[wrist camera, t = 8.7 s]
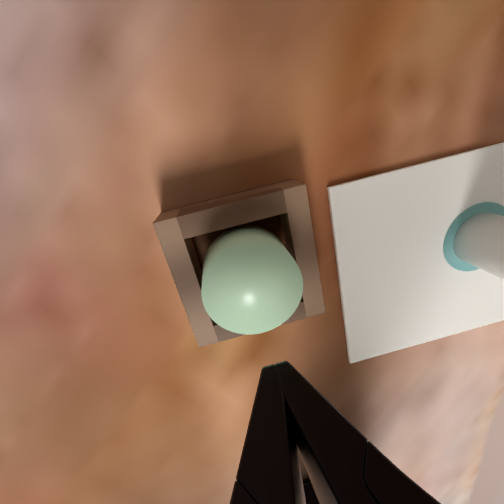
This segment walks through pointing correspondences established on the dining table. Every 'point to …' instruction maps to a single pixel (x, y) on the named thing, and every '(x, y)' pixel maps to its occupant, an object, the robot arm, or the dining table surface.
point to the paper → (414, 252)
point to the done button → (250, 281)
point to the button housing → (228, 215)
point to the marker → (482, 242)
